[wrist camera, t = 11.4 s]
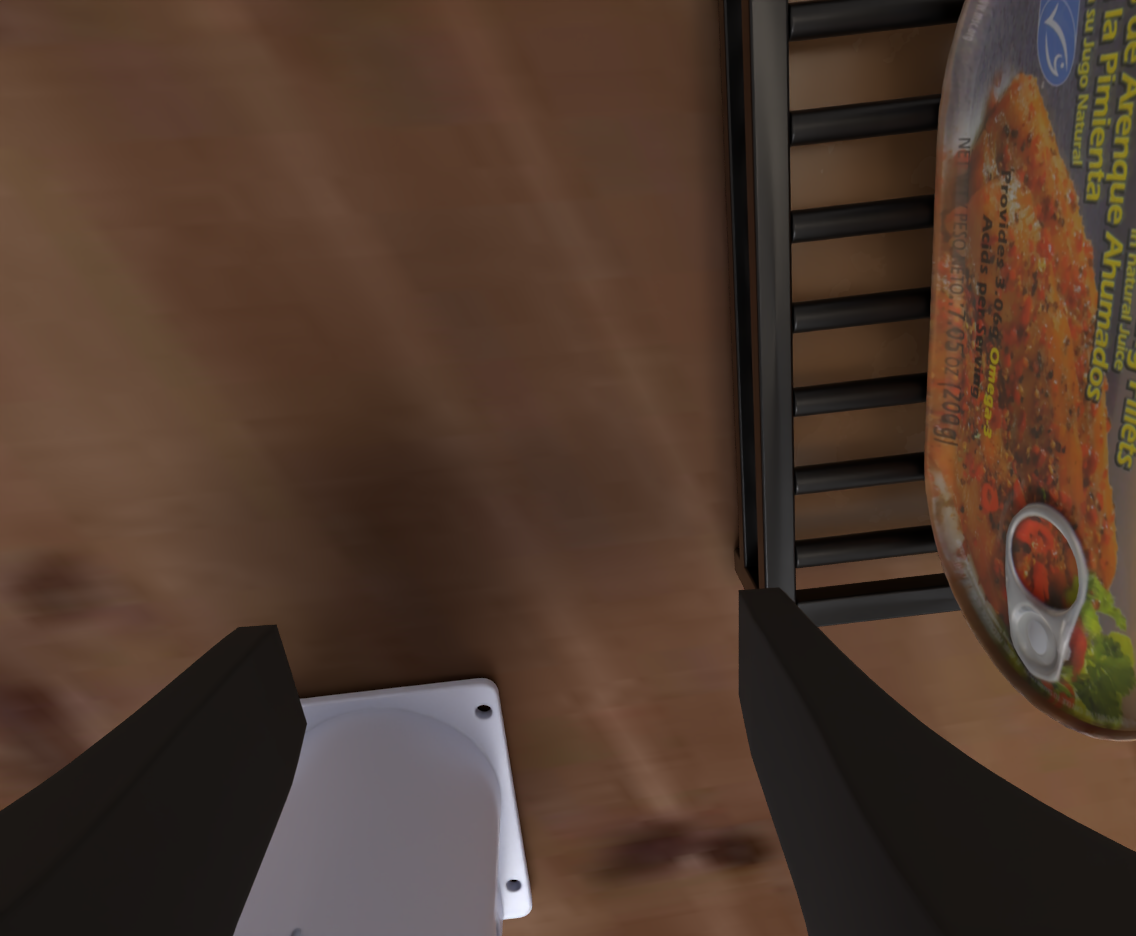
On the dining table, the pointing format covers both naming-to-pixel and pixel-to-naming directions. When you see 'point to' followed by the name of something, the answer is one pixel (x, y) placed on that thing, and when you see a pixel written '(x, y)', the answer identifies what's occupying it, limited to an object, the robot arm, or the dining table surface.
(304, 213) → the dining table surface
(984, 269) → the tin
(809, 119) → the rack
